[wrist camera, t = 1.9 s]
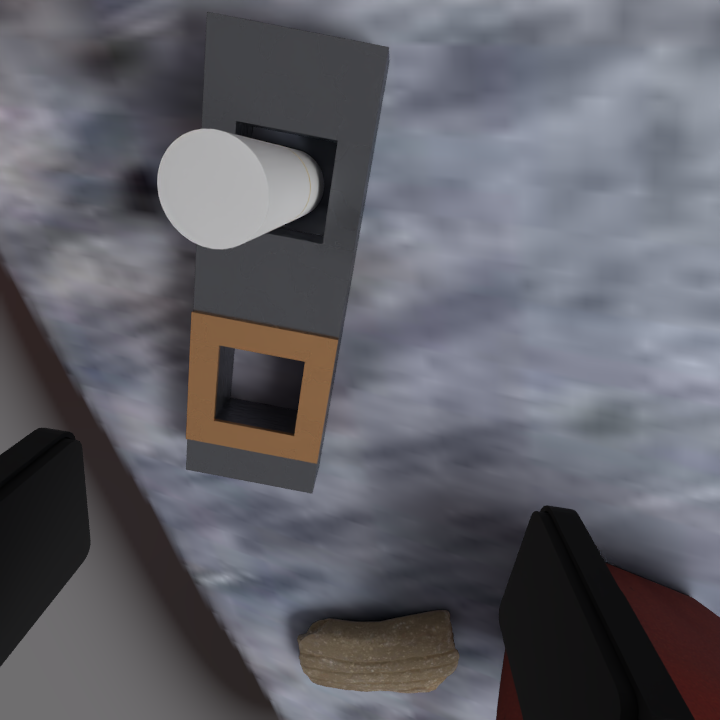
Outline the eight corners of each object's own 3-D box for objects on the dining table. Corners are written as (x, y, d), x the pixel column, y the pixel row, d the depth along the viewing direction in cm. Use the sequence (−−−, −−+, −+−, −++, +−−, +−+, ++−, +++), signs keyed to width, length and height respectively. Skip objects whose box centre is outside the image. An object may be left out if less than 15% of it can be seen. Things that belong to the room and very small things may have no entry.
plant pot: (456, 649, 47) (487, 888, 31) (559, 509, 40) (665, 725, 24) (624, 710, 48) (733, 966, 33) (751, 585, 41) (967, 834, 26)
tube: (314, 141, 31) (247, 113, 17) (331, 208, 32) (283, 234, 18) (252, 159, 31) (138, 146, 17) (272, 223, 33) (182, 260, 19)
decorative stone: (294, 610, 47) (287, 642, 44) (452, 601, 45) (457, 634, 42) (313, 678, 50) (307, 712, 47) (460, 672, 48) (465, 708, 45)
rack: (228, 30, 29) (204, 10, 25) (389, 61, 29) (388, 45, 25) (202, 445, 40) (184, 471, 36) (318, 467, 40) (311, 495, 36)
